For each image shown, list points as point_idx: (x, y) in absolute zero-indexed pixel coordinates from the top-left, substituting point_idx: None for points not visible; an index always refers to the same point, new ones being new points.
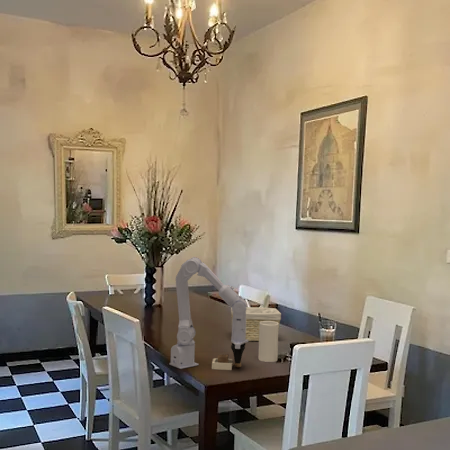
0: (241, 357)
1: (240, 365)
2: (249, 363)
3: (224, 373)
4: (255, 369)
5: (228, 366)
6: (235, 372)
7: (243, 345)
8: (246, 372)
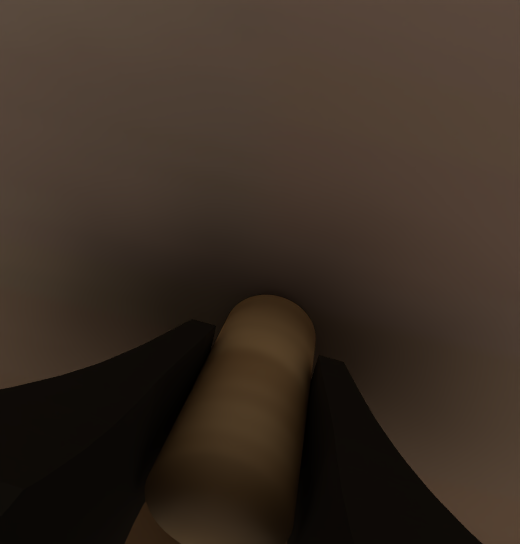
0: (376, 420)
1: (303, 323)
2: (49, 112)
3: (484, 526)
4: (374, 77)
5: None
6: (472, 404)
7: (35, 533)
8: (510, 263)
